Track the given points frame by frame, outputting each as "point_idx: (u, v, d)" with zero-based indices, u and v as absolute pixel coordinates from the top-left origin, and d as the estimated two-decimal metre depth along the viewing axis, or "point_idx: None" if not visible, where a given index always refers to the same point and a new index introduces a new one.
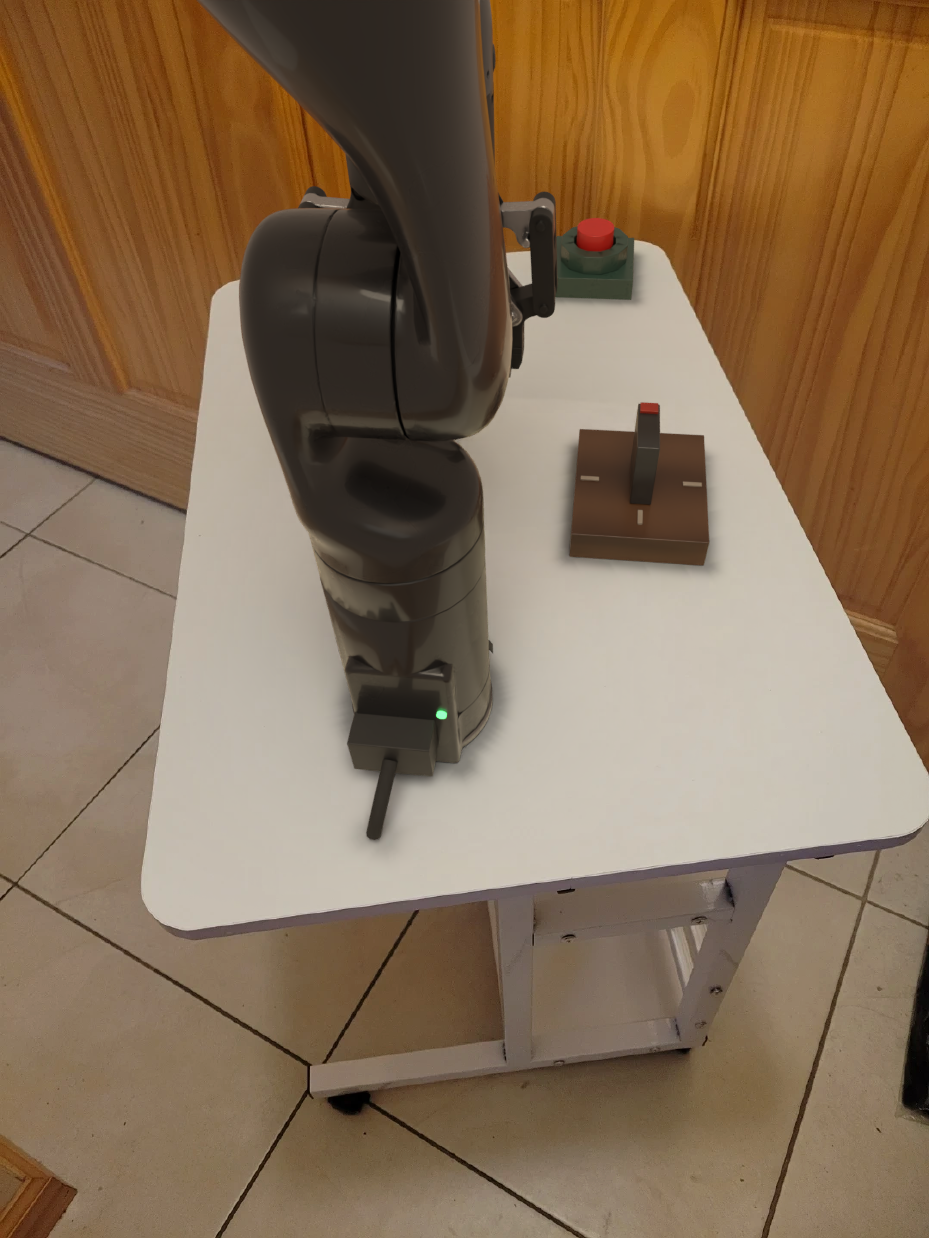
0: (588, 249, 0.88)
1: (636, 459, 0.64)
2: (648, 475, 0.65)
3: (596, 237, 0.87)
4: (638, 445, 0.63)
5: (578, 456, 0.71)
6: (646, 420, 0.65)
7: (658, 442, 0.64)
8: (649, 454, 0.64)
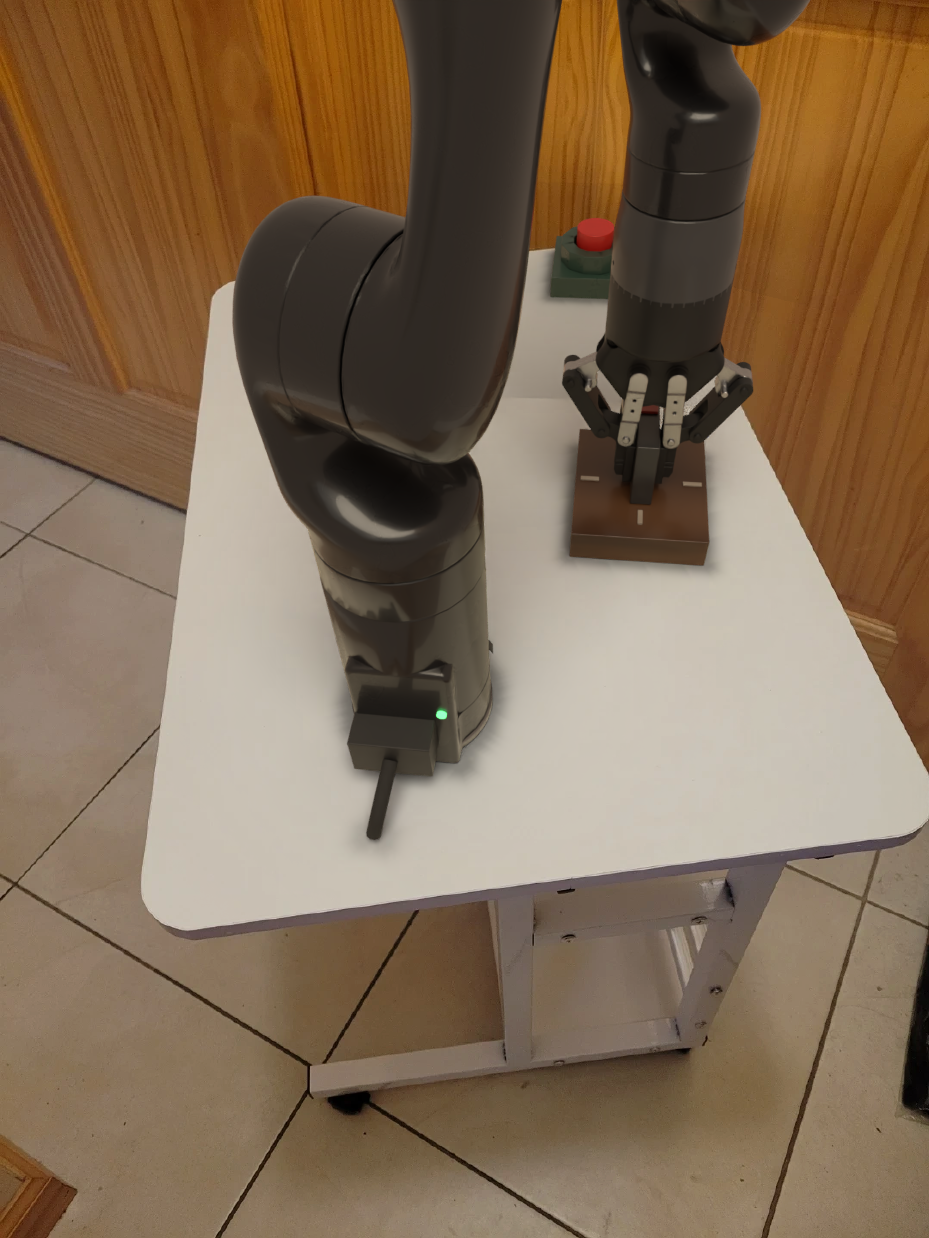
0: (588, 249, 0.88)
1: (636, 459, 0.64)
2: (648, 475, 0.65)
3: (596, 237, 0.87)
4: (638, 445, 0.63)
5: (578, 456, 0.71)
6: (646, 420, 0.65)
7: (658, 442, 0.64)
8: (649, 454, 0.64)
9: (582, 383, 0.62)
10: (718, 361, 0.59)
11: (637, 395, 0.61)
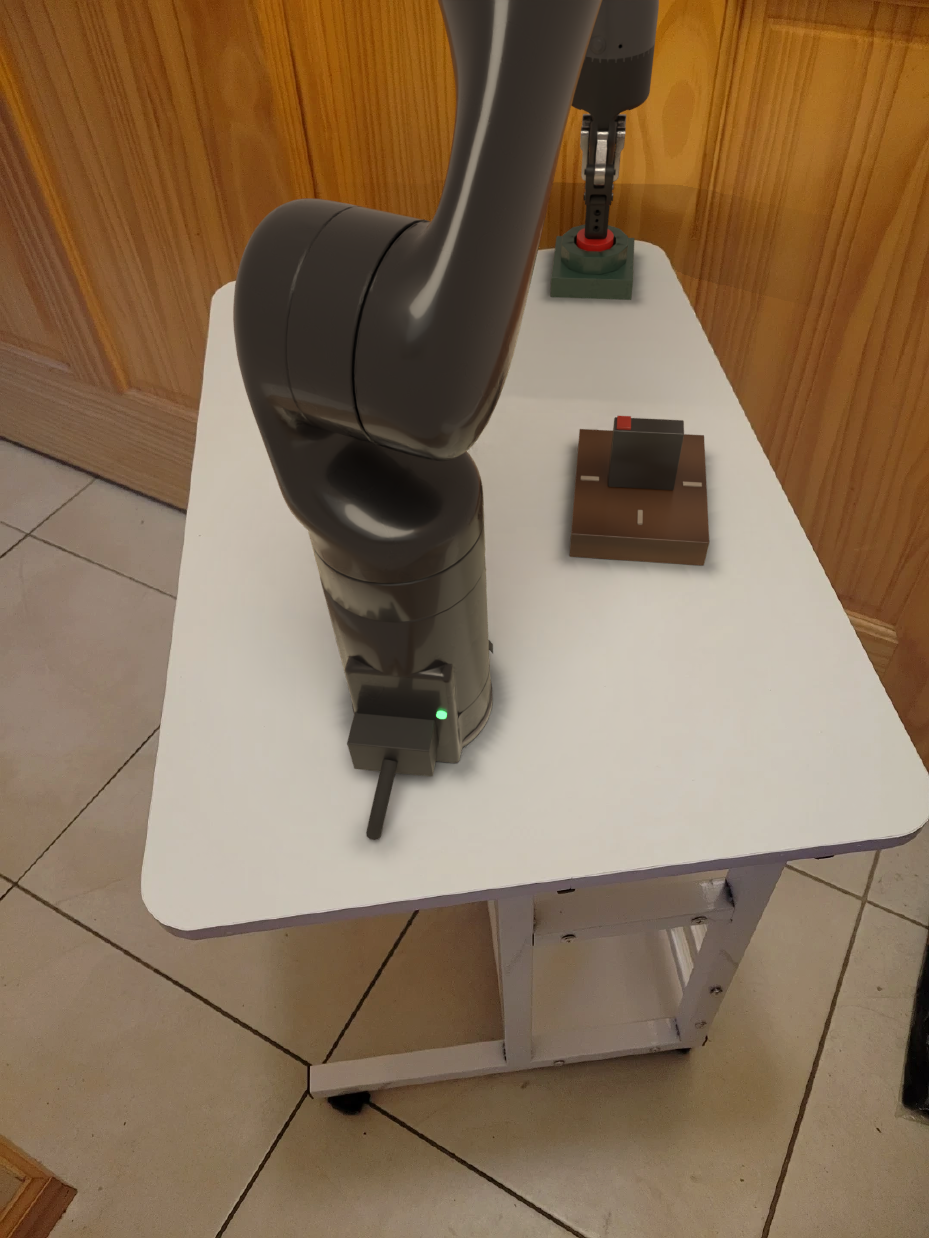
0: None
1: (681, 446, 0.65)
2: None
3: (595, 246, 0.87)
4: (680, 433, 0.64)
5: (578, 456, 0.71)
6: (641, 426, 0.65)
7: (674, 420, 0.65)
8: None
9: None
10: None
11: None
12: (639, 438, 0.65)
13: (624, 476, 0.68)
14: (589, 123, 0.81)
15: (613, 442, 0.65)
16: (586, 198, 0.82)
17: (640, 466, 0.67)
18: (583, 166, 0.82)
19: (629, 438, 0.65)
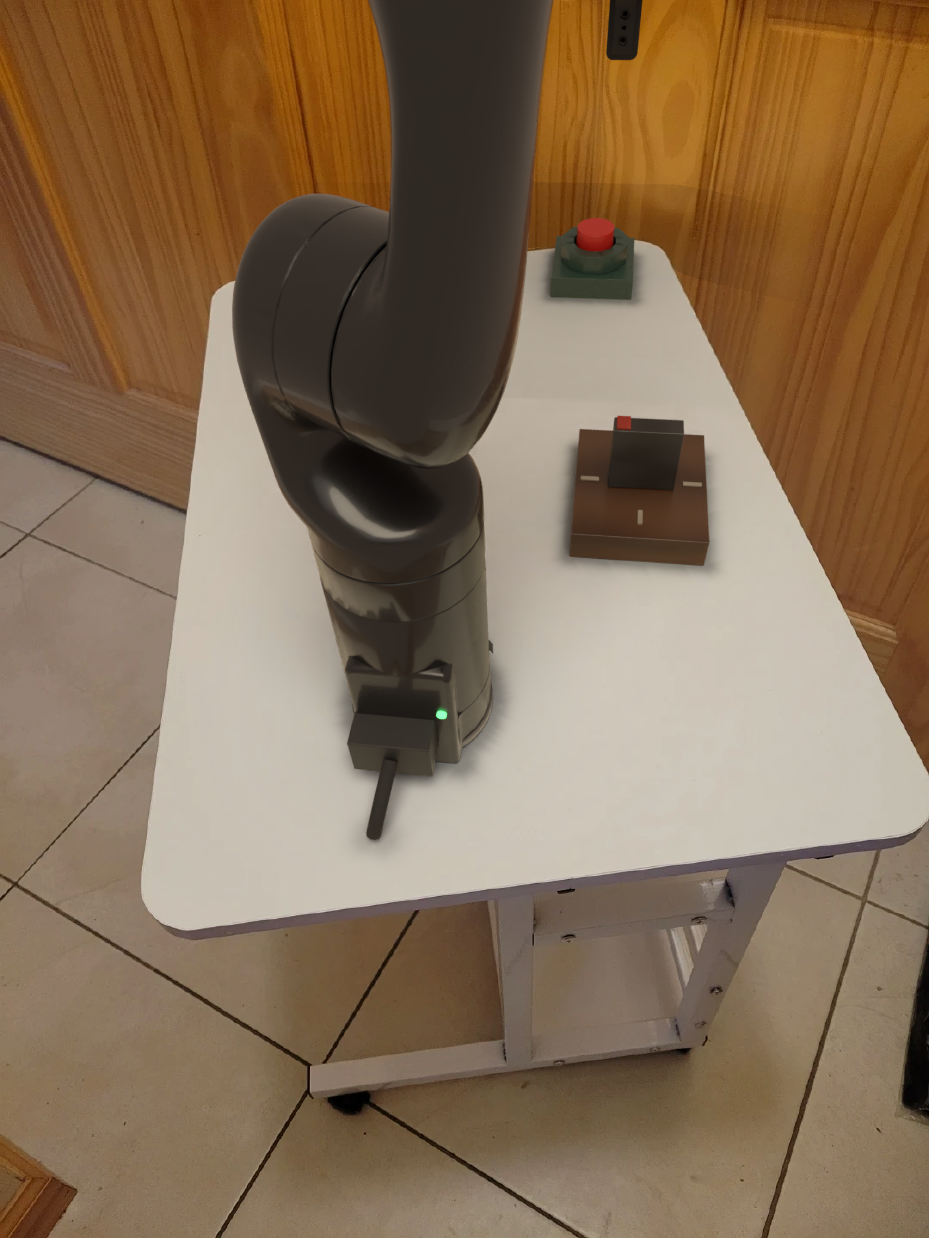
0: (588, 249, 0.88)
1: (681, 446, 0.65)
2: None
3: (596, 237, 0.87)
4: (680, 433, 0.64)
5: (578, 456, 0.71)
6: (641, 426, 0.65)
7: (674, 420, 0.65)
8: None
9: None
10: None
11: None
12: (639, 438, 0.65)
13: (624, 476, 0.68)
14: None
15: (613, 442, 0.65)
16: None
17: (640, 466, 0.67)
18: None
19: (629, 438, 0.65)
